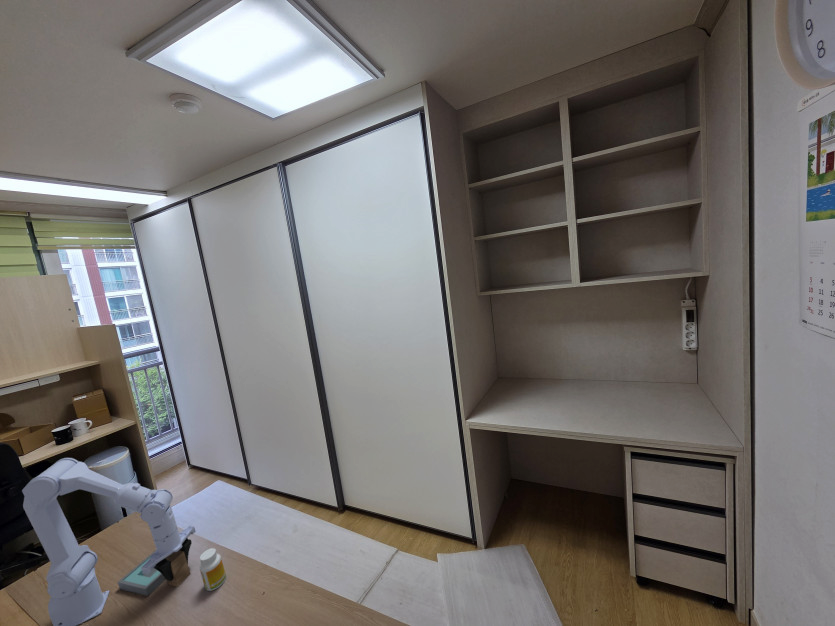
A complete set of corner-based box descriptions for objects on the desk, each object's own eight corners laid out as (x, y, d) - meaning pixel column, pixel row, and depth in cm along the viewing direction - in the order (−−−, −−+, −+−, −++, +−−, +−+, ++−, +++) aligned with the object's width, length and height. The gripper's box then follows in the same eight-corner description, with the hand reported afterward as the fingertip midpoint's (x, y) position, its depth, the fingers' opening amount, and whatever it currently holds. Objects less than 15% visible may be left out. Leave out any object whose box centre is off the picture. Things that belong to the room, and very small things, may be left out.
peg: (177, 586, 97) (170, 563, 96) (168, 584, 98) (160, 561, 97) (190, 573, 101) (183, 551, 100) (181, 571, 102) (174, 549, 101)
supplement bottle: (230, 573, 99) (222, 545, 98) (218, 591, 94) (209, 562, 92) (214, 574, 100) (206, 546, 98) (200, 592, 94) (192, 562, 93)
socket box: (147, 596, 95) (145, 589, 95) (119, 589, 99) (117, 582, 99) (187, 559, 107) (185, 552, 106) (160, 554, 110) (158, 547, 110)
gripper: (149, 556, 89) (162, 598, 91) (198, 515, 103) (208, 552, 105) (131, 553, 91) (144, 594, 93) (181, 512, 105) (192, 549, 107)
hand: (177, 572), depth 99 cm, fingers closed on peg, 4 cm apart
